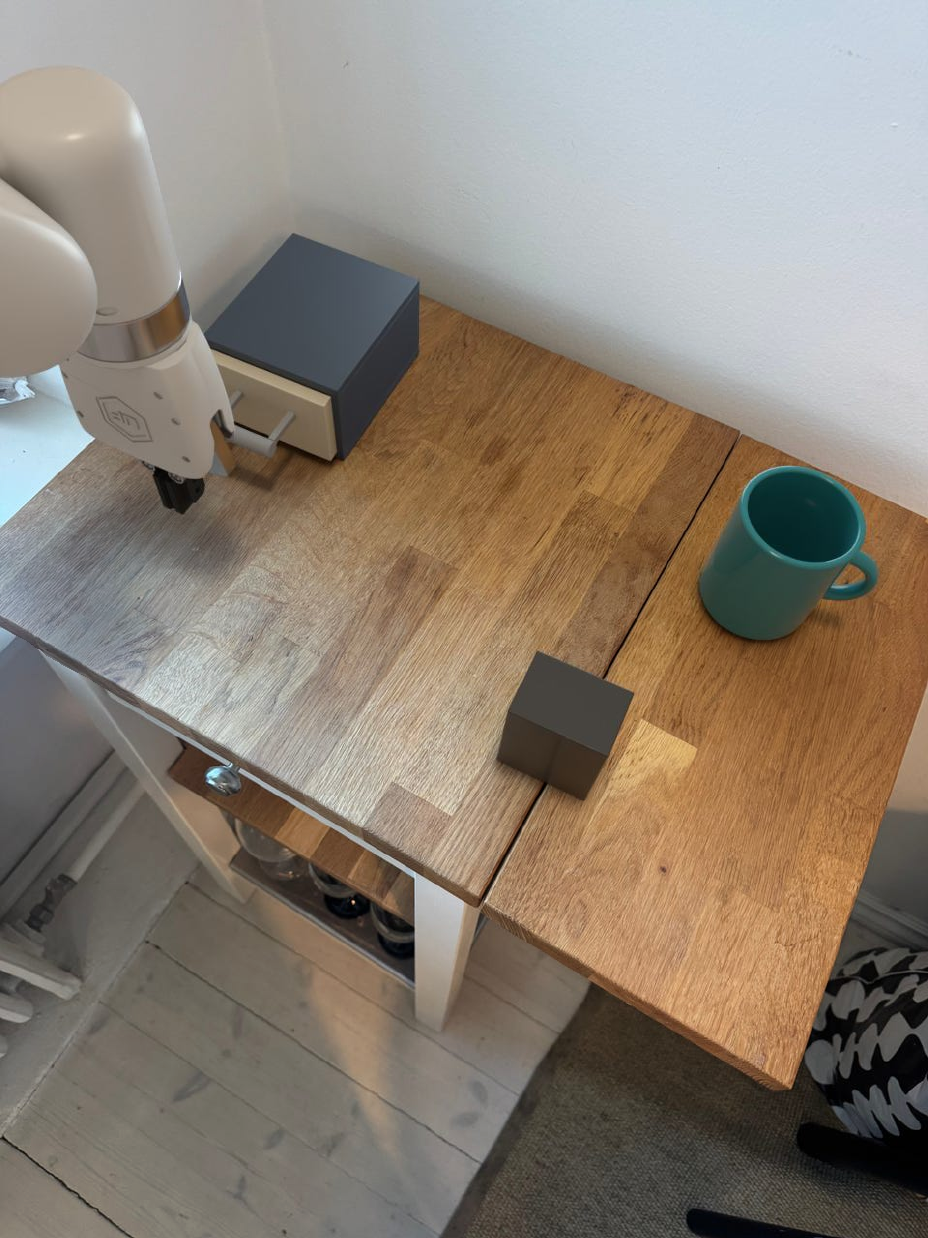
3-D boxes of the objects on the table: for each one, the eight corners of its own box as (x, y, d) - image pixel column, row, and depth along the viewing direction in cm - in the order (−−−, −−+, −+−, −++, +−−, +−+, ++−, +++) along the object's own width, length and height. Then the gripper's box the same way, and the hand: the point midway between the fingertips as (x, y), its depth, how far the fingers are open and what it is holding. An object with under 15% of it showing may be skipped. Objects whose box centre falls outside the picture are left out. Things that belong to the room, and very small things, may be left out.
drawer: (302, 500, 75) (293, 447, 69) (186, 451, 77) (167, 395, 71) (402, 359, 83) (401, 301, 77) (295, 318, 85) (286, 258, 79)
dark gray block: (495, 760, 65) (507, 711, 57) (522, 703, 68) (537, 649, 60) (584, 801, 64) (608, 757, 56) (608, 742, 66) (635, 692, 59)
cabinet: (344, 460, 78) (336, 391, 71) (220, 409, 80) (200, 336, 73) (419, 353, 85) (419, 279, 77) (303, 308, 87) (292, 232, 79)
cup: (835, 669, 70) (903, 597, 61) (686, 623, 72) (730, 545, 62) (848, 578, 75) (914, 497, 65) (708, 536, 76) (751, 450, 66)
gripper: (-25, 300, 52) (73, 495, 68) (194, 391, 50) (243, 572, 66) (57, 228, 56) (132, 429, 72) (265, 310, 53) (295, 499, 69)
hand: (185, 497), depth 68 cm, fingers closed
